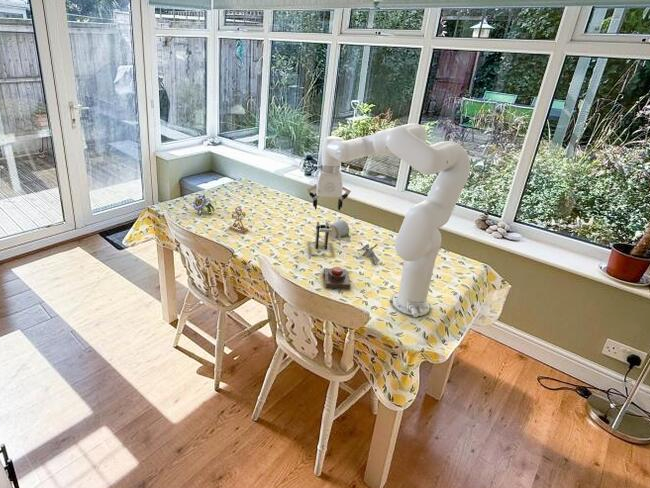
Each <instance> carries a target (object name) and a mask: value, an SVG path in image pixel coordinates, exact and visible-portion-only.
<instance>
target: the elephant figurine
mask: <svg viewBox="0 0 650 488" xmlns="http://www.w3.org/2000/svg"><path fill="white" fill-rule="evenodd" d="M378 245H379V244H378V243H376V244H375V245H374V246H372V247H370V244H369V243H367V244H366V245H363V247H361V249H360V250H361V251H362V252H363V253H362V254H361V256H365V255H366V256H367V258H369V259H370V260H371V262H373V264H374V265H377V264H378V263H377V262H380V261H381V259H379V258H378V256H377V255H376V254H375V252H374V249H375V248H376V247H377V246H378Z"/></svg>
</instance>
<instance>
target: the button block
mask: <svg viewBox="0 0 650 488" xmlns="http://www.w3.org/2000/svg"><path fill="white" fill-rule="evenodd" d="M333 268H334V267H331V268H328V267H326V268H325V267H324V268H323V278H324V284H325V285H324V286H325V289H336V290H337V289H338V290H350V289H351V282H350V278H349V275H348V270H347V269H345V268H341V269H342V274H341V275H335V274H333V273H332V271H333Z"/></svg>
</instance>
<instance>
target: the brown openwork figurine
mask: <svg viewBox="0 0 650 488" xmlns="http://www.w3.org/2000/svg"><path fill="white" fill-rule="evenodd" d="M234 214H235V215H234ZM241 216H242V217H241ZM245 217H246V212H244V211H243V210H242V208H241V207H240V206H237V207H235V208H234V212H233V213H232V214H231V218H232V219H233V220H235V221H234V222H233V224H232V225H233V226H234V225H235V226H234V227H237V226H240V227H238V229H241V230H238V229H235V228H232V227H230V226H228V229H229V230H232V231H235V232H237V233H238V232H239V233H241V234H245V233H247V232H248V231H249V229H248V228H246V227H244V224H243V222H242V219H245Z"/></svg>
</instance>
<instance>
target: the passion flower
mask: <svg viewBox="0 0 650 488" xmlns="http://www.w3.org/2000/svg"><path fill="white" fill-rule="evenodd" d="M206 197H207V194H206V193H203V194H201V195H198V196H196V197H195V198H194V200H193V201H192V203H191V204H190V206H191V207H192V206H193V208H194V211H195V210H197V211H195V214H202V212H203V209H204V210H206V209H207V213H208V214H209V215H212V213H213V212H215V207H214V206H213V205H212V203H214V204H215V206H217V205H218V204H217V201H216V200H213V201H212V202H209V201H210V198H208V197H207V198H206ZM209 212H211V213H209Z"/></svg>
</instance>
